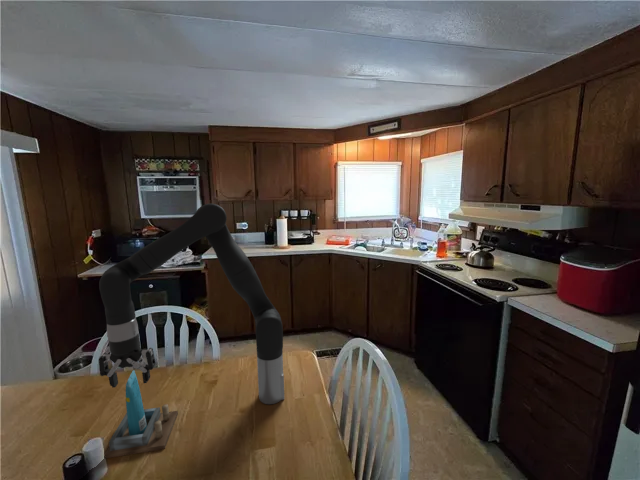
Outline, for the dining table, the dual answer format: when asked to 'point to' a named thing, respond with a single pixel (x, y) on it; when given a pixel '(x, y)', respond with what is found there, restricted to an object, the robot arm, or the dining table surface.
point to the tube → (134, 407)
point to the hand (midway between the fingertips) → (130, 383)
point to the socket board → (149, 440)
